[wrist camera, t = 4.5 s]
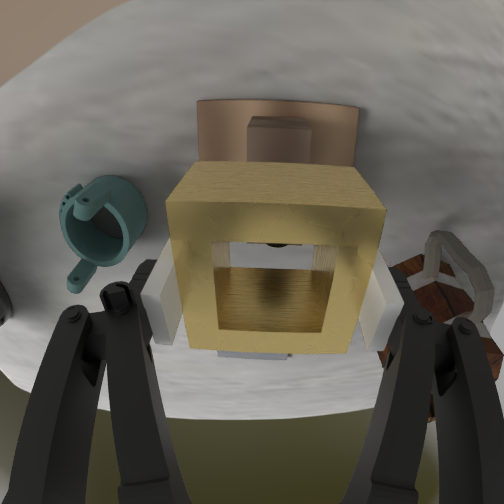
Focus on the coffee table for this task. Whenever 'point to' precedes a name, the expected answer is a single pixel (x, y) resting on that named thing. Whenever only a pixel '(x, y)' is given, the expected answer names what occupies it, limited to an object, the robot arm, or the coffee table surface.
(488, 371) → the robot arm
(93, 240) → the bracket
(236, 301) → the hollow wooden square frame
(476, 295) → the mug
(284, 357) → the felt mat
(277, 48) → the coffee table surface
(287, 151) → the post stand
